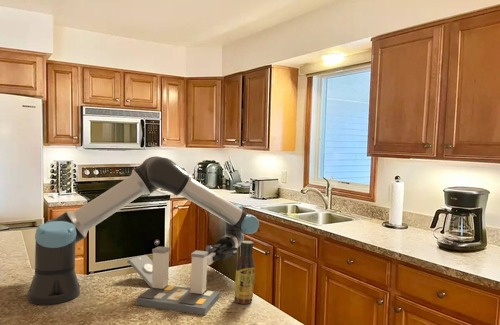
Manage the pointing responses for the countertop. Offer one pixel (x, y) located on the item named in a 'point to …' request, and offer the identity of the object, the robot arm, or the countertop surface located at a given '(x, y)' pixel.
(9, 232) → the countertop surface
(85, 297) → the countertop surface
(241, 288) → the sauce bottle
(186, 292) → the console
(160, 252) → the slider
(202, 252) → the slider
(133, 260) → the gray dial box
